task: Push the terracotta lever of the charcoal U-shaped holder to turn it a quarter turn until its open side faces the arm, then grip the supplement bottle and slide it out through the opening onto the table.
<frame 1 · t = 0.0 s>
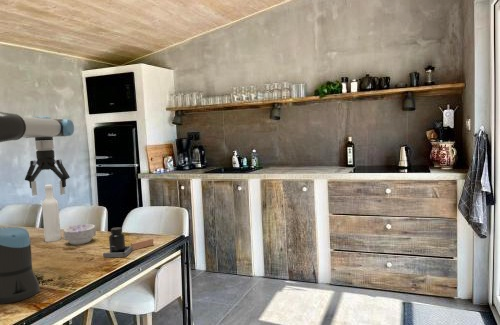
hand: (48, 194, 184), 28 cm above the table, tool pointing down, fingers open, 13 cm apart
supplement bottle: (117, 254, 180), on the table
bottle: (53, 240, 209), on the table
holder: (129, 247, 183), point 2 cm above the table, hinge at 0.0°
paper bowls: (80, 242, 202), on the table
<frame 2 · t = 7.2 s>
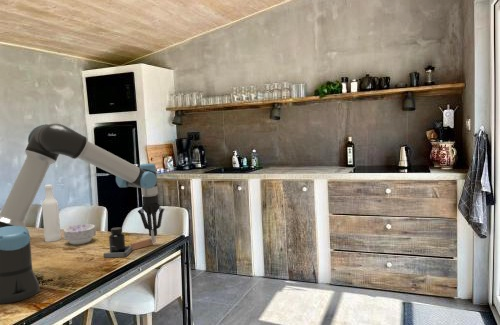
hand: (153, 242, 191), 1 cm above the table, tool pointing down, fingers closed
holder: (129, 247, 183), point 2 cm above the table, hinge at 2.0°, touching gripper
everything else where it was.
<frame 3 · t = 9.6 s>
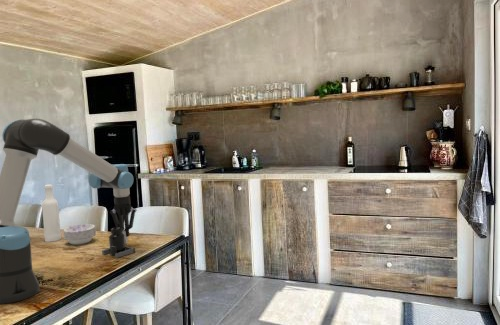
hand: (125, 242, 192), 2 cm above the table, tool pointing down, fingers closed
holder: (120, 246, 185), point 2 cm above the table, hinge at 55.5°, touching gripper
everything else where it was.
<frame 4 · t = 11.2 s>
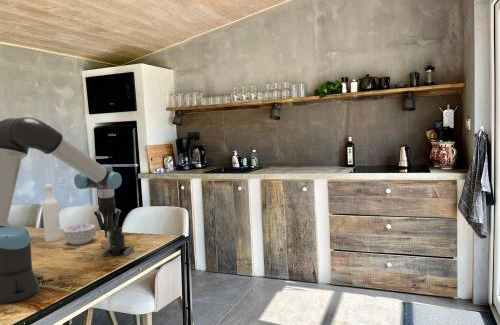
hand: (110, 243, 192), 1 cm above the table, tool pointing down, fingers closed
holder: (113, 247, 184), point 2 cm above the table, hinge at 89.0°, touching gripper
everything else where it was.
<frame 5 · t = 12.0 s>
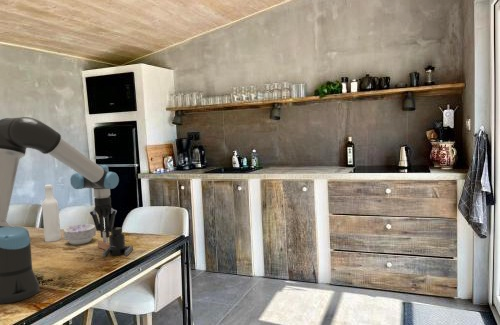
hand: (105, 243, 192), 1 cm above the table, tool pointing down, fingers closed
holder: (112, 247, 184), point 2 cm above the table, hinge at 94.4°, touching gripper
everything else where it was.
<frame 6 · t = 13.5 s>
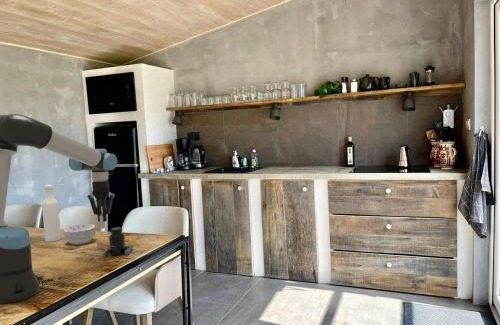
hand: (102, 228, 191), 10 cm above the table, tool pointing down, fingers closed
holder: (111, 247, 184), point 2 cm above the table, hinge at 95.4°
everything else where it was.
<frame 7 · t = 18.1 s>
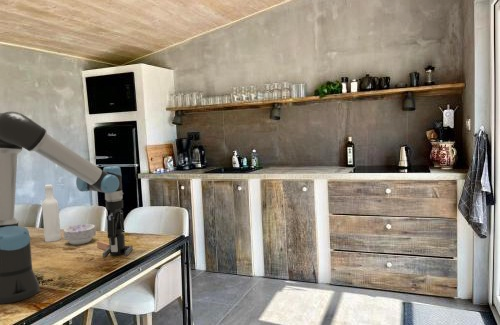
hand: (117, 249, 179), 2 cm above the table, tool pointing down, fingers closed on supplement bottle, 7 cm apart
supplement bottle: (117, 254, 180), on the table, touching gripper
everything else where it was.
when the fingers open (3 cm above the table, at t = 21.5 s): supplement bottle stays where it is, on the table.
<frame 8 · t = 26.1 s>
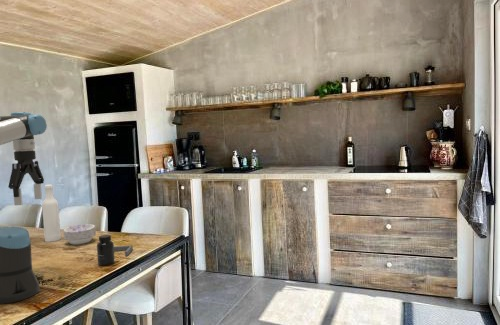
hand: (28, 202, 159), 29 cm above the table, tool pointing down, fingers open, 13 cm apart
supplement bottle: (106, 263, 167), on the table
everything else where it was.
at the end: holder at +95° (first picture: +0°); supplement bottle inside the target area (0.1 cm from its centre), on the table; supplement bottle tilted 0° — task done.
